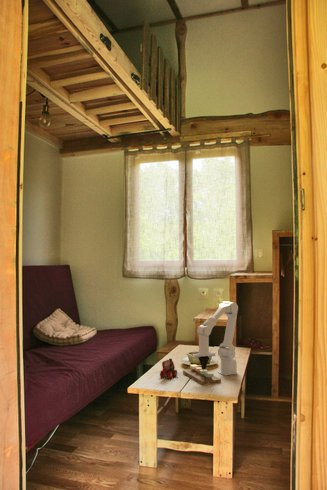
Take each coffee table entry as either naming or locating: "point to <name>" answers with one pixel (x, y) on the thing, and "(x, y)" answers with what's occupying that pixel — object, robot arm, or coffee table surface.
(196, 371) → the terracotta key
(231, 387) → the coffee table surface
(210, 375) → the pale grey cube
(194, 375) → the brown wooden board
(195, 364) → the cream key
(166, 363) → the dark red teddy bear
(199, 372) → the pale green cube
